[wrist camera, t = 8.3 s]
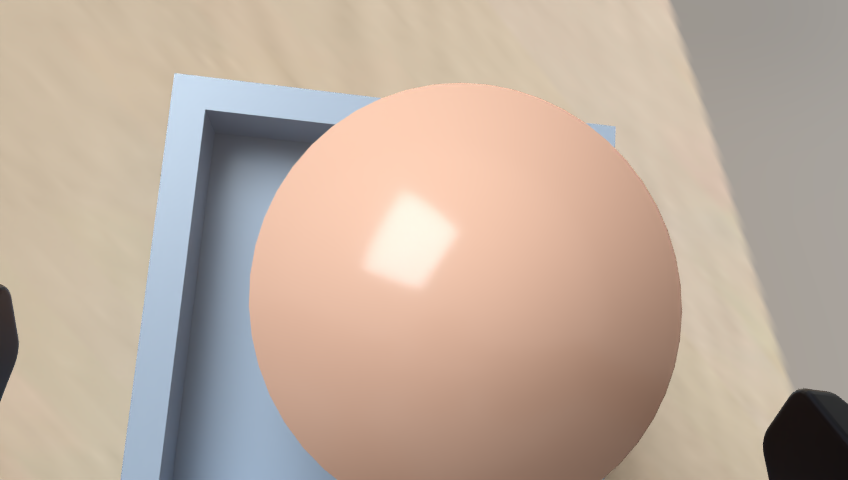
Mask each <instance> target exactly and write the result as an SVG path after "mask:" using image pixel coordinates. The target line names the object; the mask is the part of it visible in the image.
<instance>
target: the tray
mask: <svg viewBox="0 0 848 480" xmlns="http://www.w3.org/2000/svg"><path fill="white" fill-rule="evenodd" d="M379 99H381V98H375V97H367V96H358V95H350V94H342V93H334V92H325V91H317V90H309V89H301V88H292V87H284V86H276V85H268V84H259V83H251V82H243V81H235V80H226V79H218V78H210V77H202V76H194V75H185V74H177V73H175V74H174V81H173V89H172V96H171V104H170V111H169V119H168V127H167V134H166V142H165V149H164V157H163V164H162V172H161V179H160V187H159V194H158V202H157V209H156V217H155V225H154V232H153V240H152V247H151V255H150V262H149V270H148V277H147V285H146V292H145V300H144V308H143V315H142V323H141V330H140V338H139V345H138V353H137V360H136V368H135V375H134V383H133V390H132V398H131V406H130V413H129V421H128V428H127V436H126V443H125V451H124V458H123V466H122V473H121V480H337V479H336V478H334V477H333V476H332V475H331V474H329V473H328V472H327V471H325V470H324V469H323V468H322V467H321V466H320V465H319V464H318V463H317V462H316V460H315V459H314V458H313V457H312V456H311V455H310V454H309V453H308V452H307V451H306V450H305V449H304V448H303V447H302V446H301V444H300V443H299V441H298V440H297V439H296V437H295V436H294V435H293V433H292V432H291V431H290V429H289V428H288V426H287V425H286V424H285V422H284V421H283V419H282V417H281V415H280V413H279V411H278V409H277V408H276V406H275V404H274V402H273V400H272V398H271V397H270V395H269V392H268V389H267V387H266V384H265V381H264V379H263V376H262V374H261V371H260V368H259V365H258V361H257V357H256V352H255V348H254V344H253V339H252V334H251V323H250V312H249V290H250V273H251V267H252V262H253V256H254V250H255V245H256V242H257V239H258V236H259V233H260V229H261V226H262V223H263V220H264V217H265V215H266V213H267V211H268V209H269V206H270V204H271V202H272V200H273V198H274V196H275V194H276V192H277V190H278V188H279V187H280V185H281V184H282V182H283V181H284V179H285V178H286V176H287V175H288V173H289V172H290V170H291V169H292V167H293V166H294V165H295V163H296V162H297V161H298V160H299V159H300V158H301V156H302V155H303V154H304V153H305V152H306V151H307V150H308V148H309V147H310V146H311V145H312V144H313V143H314V142H315V141H317V140H318V139H319V138H320V137H321V136H322V135H323V134H324V133H326V132H327V131H328V130H329V129H330V128H331V127H332V126H334V125H335V124H337V123H338V122H340V121H341V120H343V119H344V118H346V117H347V116H349V115H350V114H352V113H353V112H355V111H356V110H358V109H360V108H362V107H364V106H366V105H369V104H371V103H373V102H375V101H377V100H379ZM586 124H588V125H589V126H590V127H591V128H592V129H594V130H595V131H596V132H597V133H599V134H600V135H601V136H602V137H604V138H605V139H606V140H607V141H608V142H609V143H610V144H611V145H612V146H613V147H614V148H615V127H614V126H606V125H598V124H589V123H586ZM602 480H604V478H603V479H602Z"/></svg>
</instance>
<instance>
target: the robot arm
mask: <svg viewBox="0 0 848 480" xmlns="http://www.w3.org/2000/svg"><path fill="white" fill-rule="evenodd" d="M18 347H19V341H18V334H17V328H16V322H15V316H14V311H13V305H12V299H11V295H10V292H9V290H8V289H7V288H6V287H5V286H3V285H1V284H0V401H1V398H2V395H3V393H4V390H5V388H6V385H7V383H8V380H9V378H10V375H11V372H12V370H13V367H14V365H15V362H16V359H17V355H18ZM763 452H764V458H765V462H766V467H767V472H768V477H769V480H848V404H847V403H846V402H845V401H844V400H842V399H841V398H840V397H839V396H837V395H836V394H833V393H831V392H827V391H819V390H812V389H798V390H797V391H795V392H793V393H792V394H791V395H790V397H789V398H788V399H787V401H786V402H785V404H784V405H783V407H782V408H781V410H780V411H779V413H778V414H777V416H776V417H775V419H774V420H773V421H772V423H771V424H770V426H769V427H768V429H767V431H766V433H765V436H764V441H763Z"/></svg>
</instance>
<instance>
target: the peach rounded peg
mask: <svg viewBox="0 0 848 480" xmlns="http://www.w3.org/2000/svg"><path fill="white" fill-rule="evenodd" d="M249 312H250V323H251V334H252V339H253V344H254V348H255V352H256V357H257V361H258V365H259V368H260V371H261V374H262V376H263V379H264V381H265V384H266V387H267V389H268V392H269V395H270V397H271V398H272V400H273V402H274V404H275V406H276V408H277V409H278V411H279V413H280V415H281V417H282V419H283V421H284V422H285V424H286V425H287V426H288V428H289V429H290V431H291V432H292V433H293V435H294V436H295V437H296V439H297V440H298V441H299V443H300V444H301V446H302V447H303V448H304V449H305V450H306V451H307V452H308V453H309V454H310V455H311V456H312V457H313V458H314V459H315V460H316V462H317V463H318V464H319V465H320V466H321V467H322V468H323V469H324V470H325V471H327V472H328V473H329V474H331V475H332V476H333V477H334V478H336V479H337V480H602V479H603V478H604V477H605V476H607V475H608V474H609V473H610V472H611V471H612V470H613V469H614V468H616V467H617V466H618V465H619V464H620V463H621V462H622V461H623V459H624V458H625V457H626V456H627V455H628V454H629V452H630V451H631V450H632V449H633V448H634V447H635V445H636V444H637V443H638V442H639V440H640V439H641V437H642V436H643V434H644V433H645V431H646V430H647V428H648V426H649V425H650V423H651V422H652V420H653V419H654V417H655V415H656V413H657V411H658V408H659V406H660V404H661V402H662V400H663V398H664V396H665V394H666V391H667V388H668V385H669V382H670V379H671V376H672V373H673V370H674V367H675V362H676V357H677V352H678V347H679V342H680V331H681V317H682V305H681V285H680V279H679V273H678V267H677V261H676V256H675V253H674V250H673V246H672V243H671V240H670V236H669V233H668V230H667V228H666V225H665V223H664V221H663V219H662V216H661V214H660V212H659V209H658V207H657V205H656V203H655V202H654V200H653V198H652V196H651V195H650V193H649V191H648V190H647V188H646V186H645V185H644V183H643V181H642V180H641V179H640V177H639V176H638V175H637V173H636V172H635V171H634V170H633V168H632V167H631V166H630V164H629V163H628V162H627V160H626V159H625V158H624V157H623V156H622V155H621V154H620V153H619V152H618V151H617V150H616V149H615V148H614V147H613V146H612V145H611V144H610V143H609V142H608V141H607V140H606V139H605V138H604V137H602V136H601V135H600V134H599V133H597V132H596V131H595V130H594V129H592V128H591V127H590V126H589V125H588V124H586V123H585V122H583V121H581V120H580V119H578V118H577V117H575V116H573V115H572V114H570V113H569V112H567V111H566V110H564V109H562V108H560V107H558V106H555V105H553V104H551V103H549V102H547V101H545V100H543V99H541V98H538V97H535V96H532V95H529V94H526V93H523V92H520V91H516V90H513V89H508V88H503V87H498V86H492V85H487V84H471V83H450V84H434V85H428V86H423V87H418V88H413V89H408V90H404V91H402V92H399V93H396V94H393V95H390V96H387V97H384V98H381V99H379V100H377V101H375V102H373V103H371V104H369V105H366V106H364V107H362V108H360V109H358V110H356V111H355V112H353V113H352V114H350V115H349V116H347V117H346V118H344V119H343V120H341V121H340V122H338V123H337V124H335V125H334V126H332V127H331V128H330V129H329V130H328V131H327V132H326V133H324V134H323V135H322V136H321V137H320V138H319V139H318V140H317V141H315V142H314V143H313V144H312V145H311V146H310V147H309V148H308V150H307V151H306V152H305V153H304V154H303V155H302V156H301V158H300V159H299V160H298V161H297V162H296V163H295V165H294V166H293V167H292V169H291V170H290V172H289V173H288V175H287V176H286V178H285V179H284V181H283V182H282V184H281V185H280V187H279V188H278V190H277V192H276V194H275V196H274V198H273V200H272V202H271V204H270V206H269V209H268V211H267V213H266V215H265V217H264V220H263V223H262V226H261V229H260V233H259V236H258V239H257V242H256V245H255V250H254V256H253V262H252V267H251V273H250V290H249Z"/></svg>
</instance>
